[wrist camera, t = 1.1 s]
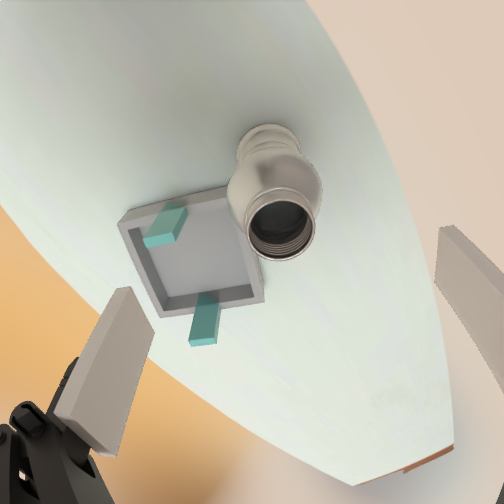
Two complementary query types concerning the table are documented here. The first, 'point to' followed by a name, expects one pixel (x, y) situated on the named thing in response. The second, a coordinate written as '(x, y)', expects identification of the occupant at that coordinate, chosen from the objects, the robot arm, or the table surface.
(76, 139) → the table surface
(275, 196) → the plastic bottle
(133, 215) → the tray
